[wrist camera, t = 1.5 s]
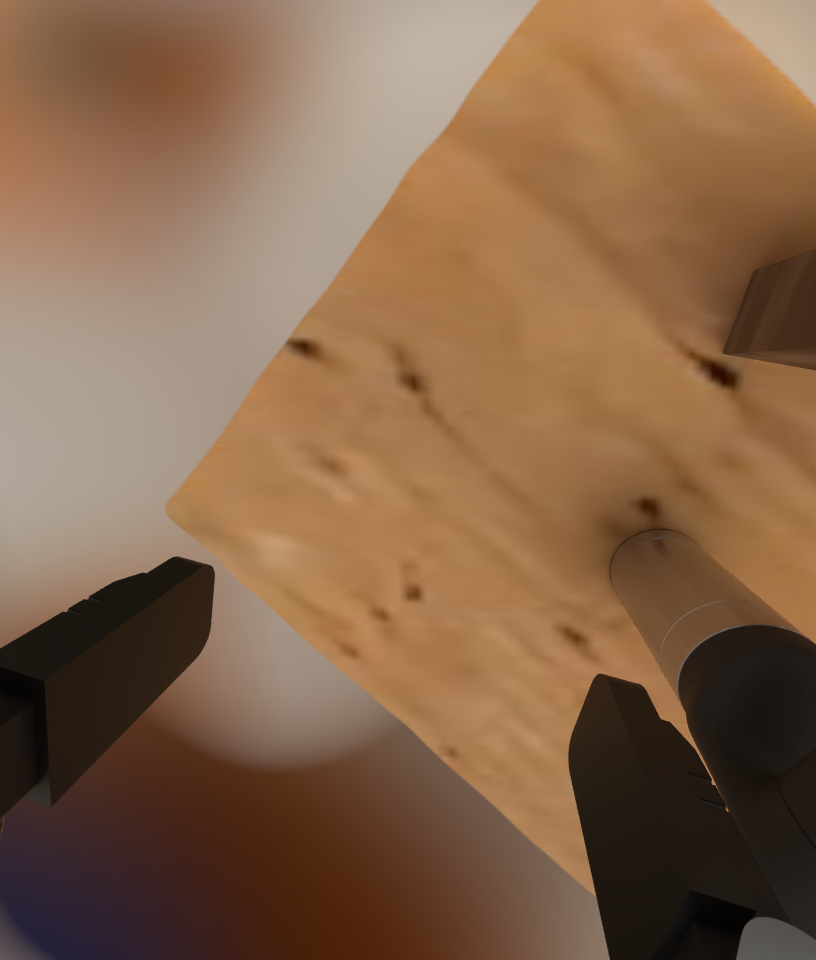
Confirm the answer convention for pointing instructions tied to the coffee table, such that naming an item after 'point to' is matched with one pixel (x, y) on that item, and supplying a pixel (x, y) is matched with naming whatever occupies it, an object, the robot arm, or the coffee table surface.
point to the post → (779, 314)
